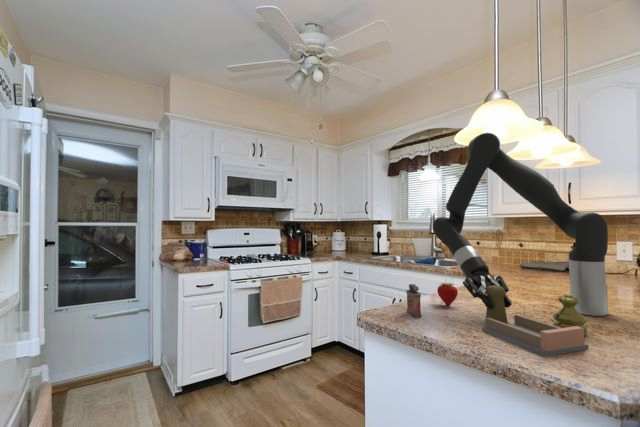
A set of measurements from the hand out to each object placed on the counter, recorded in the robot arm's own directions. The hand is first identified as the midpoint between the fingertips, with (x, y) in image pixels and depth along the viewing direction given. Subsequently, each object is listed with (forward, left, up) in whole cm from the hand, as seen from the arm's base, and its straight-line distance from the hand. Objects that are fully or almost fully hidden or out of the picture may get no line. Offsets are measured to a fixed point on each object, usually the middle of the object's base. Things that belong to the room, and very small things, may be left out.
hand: (500, 306), depth 95 cm
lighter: (+19, -17, -5) cm, 26 cm away
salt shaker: (-12, +11, -5) cm, 17 cm away
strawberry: (+1, -23, -5) cm, 23 cm away
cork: (0, -2, -5) cm, 6 cm away
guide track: (+3, +12, -5) cm, 14 cm away
